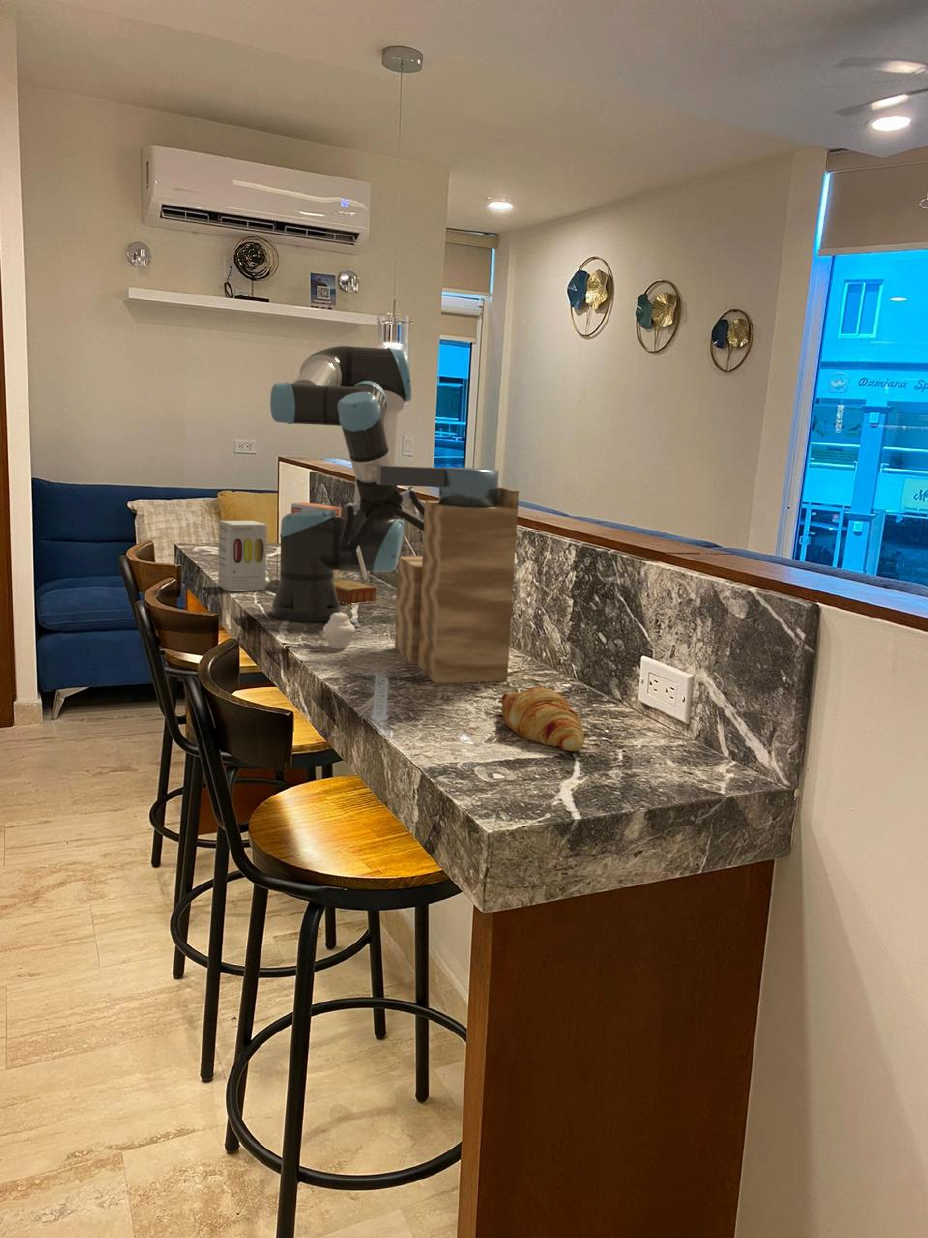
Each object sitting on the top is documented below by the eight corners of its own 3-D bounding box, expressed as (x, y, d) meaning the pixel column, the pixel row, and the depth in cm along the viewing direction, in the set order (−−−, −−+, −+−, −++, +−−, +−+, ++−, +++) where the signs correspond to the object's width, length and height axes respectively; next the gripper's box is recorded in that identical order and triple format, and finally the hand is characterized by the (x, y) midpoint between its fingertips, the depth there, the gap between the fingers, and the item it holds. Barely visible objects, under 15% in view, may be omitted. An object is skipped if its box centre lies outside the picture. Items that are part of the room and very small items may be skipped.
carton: (347, 606, 222) (348, 589, 222) (311, 595, 234) (311, 578, 233) (376, 603, 228) (376, 586, 227) (339, 592, 240) (340, 576, 239)
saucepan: (371, 499, 161) (372, 464, 160) (485, 502, 167) (487, 468, 166) (384, 505, 152) (385, 467, 150) (504, 508, 158) (506, 472, 157)
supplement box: (229, 592, 230) (229, 524, 226) (217, 586, 237) (217, 520, 234) (266, 590, 235) (267, 523, 232) (253, 584, 242) (253, 519, 239)
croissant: (594, 778, 130) (620, 727, 130) (542, 753, 125) (570, 700, 125) (516, 728, 148) (540, 683, 149) (469, 705, 143) (493, 659, 143)
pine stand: (395, 647, 184) (401, 477, 177) (463, 645, 188) (471, 479, 181) (430, 683, 160) (438, 488, 153) (507, 680, 164) (519, 491, 157)
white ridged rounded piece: (320, 643, 184) (321, 608, 182) (352, 643, 185) (353, 608, 184) (324, 651, 178) (325, 615, 176) (356, 650, 179) (357, 615, 178)
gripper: (311, 497, 175) (338, 591, 187) (440, 467, 177) (460, 562, 188) (310, 481, 182) (336, 573, 193) (435, 452, 183) (454, 545, 194)
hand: (397, 568), depth 191 cm, fingers open, 13 cm apart
